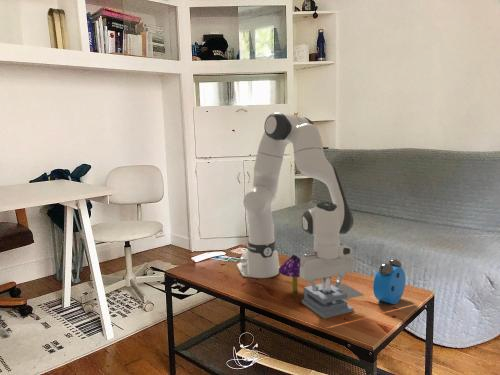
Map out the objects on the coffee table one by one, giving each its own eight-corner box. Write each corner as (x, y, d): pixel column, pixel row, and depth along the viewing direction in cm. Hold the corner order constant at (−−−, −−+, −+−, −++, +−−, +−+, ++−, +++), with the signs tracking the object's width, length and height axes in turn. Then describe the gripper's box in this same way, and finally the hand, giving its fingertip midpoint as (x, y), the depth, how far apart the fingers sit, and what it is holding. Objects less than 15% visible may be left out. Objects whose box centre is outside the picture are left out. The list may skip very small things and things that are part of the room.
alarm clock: (389, 293, 151) (390, 255, 149) (405, 298, 146) (407, 258, 144) (372, 305, 142) (373, 264, 140) (389, 310, 137) (389, 268, 135)
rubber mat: (319, 290, 156) (319, 289, 156) (344, 284, 161) (344, 283, 161) (337, 302, 145) (337, 301, 145) (364, 295, 150) (364, 294, 150)
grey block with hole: (301, 303, 145) (301, 287, 144) (329, 297, 149) (329, 281, 149) (323, 319, 132) (323, 302, 131) (353, 312, 137) (353, 295, 136)
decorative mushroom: (288, 301, 147) (287, 261, 145) (273, 289, 159) (272, 252, 156) (317, 295, 151) (317, 256, 149) (301, 283, 163) (301, 248, 161)
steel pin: (325, 306, 139) (325, 278, 137) (320, 302, 141) (320, 275, 140) (332, 304, 140) (332, 276, 138) (327, 300, 143) (327, 274, 141)
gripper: (305, 257, 131) (306, 297, 133) (356, 248, 139) (356, 286, 141) (295, 252, 137) (296, 290, 139) (345, 243, 145) (345, 280, 147)
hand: (326, 288), depth 140 cm, fingers open, 8 cm apart
